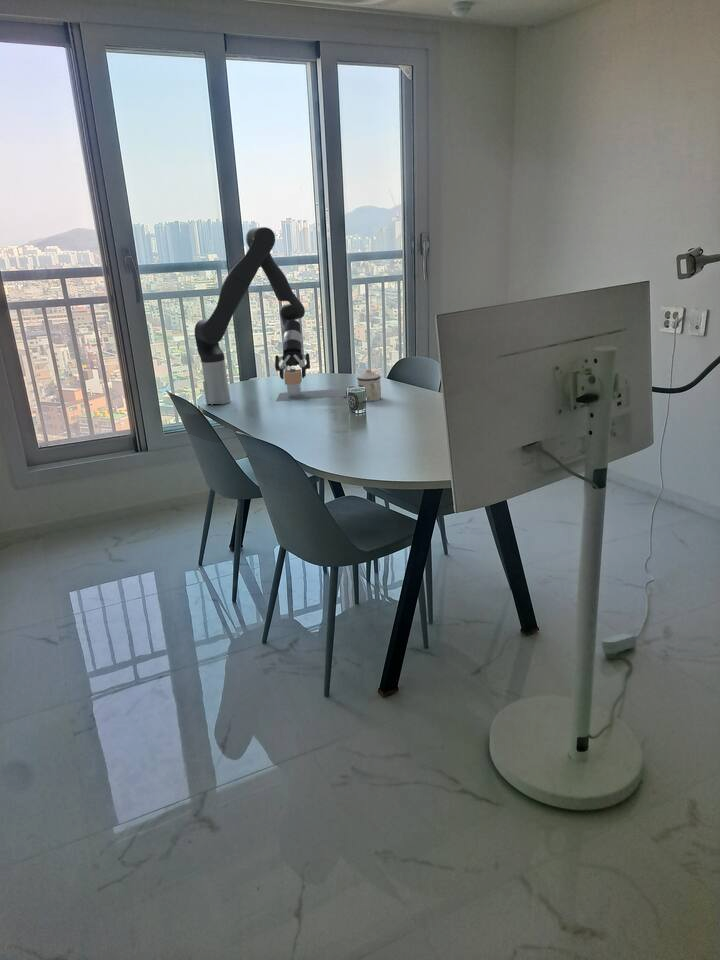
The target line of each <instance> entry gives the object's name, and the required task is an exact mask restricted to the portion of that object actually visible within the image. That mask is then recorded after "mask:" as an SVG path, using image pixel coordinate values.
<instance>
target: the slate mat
mask: <svg viewBox="0 0 720 960" xmlns="http://www.w3.org/2000/svg"><path fill="white" fill-rule="evenodd" d="M301 392H302V394H301V397H291V398H288V391H287V392H279V394H278V396H277V398H276V402H285V401H297V400H298V401H299V400H312V399H313V400H315V399H329V398H330V399H331V398H343V399H345V398H347V394H346V388H335V389H334V388H333V389H317V390H304V391H302V390H301Z"/></svg>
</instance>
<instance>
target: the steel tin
mask: <svg viewBox="0 0 720 960" xmlns="http://www.w3.org/2000/svg"><path fill="white" fill-rule="evenodd" d="M301 385H302V383H301V384H288V385H286V389H287V392H288V398H291V397H301V394H302V392H301V391H302V386H301Z"/></svg>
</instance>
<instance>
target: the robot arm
mask: <svg viewBox="0 0 720 960" xmlns="http://www.w3.org/2000/svg"><path fill="white" fill-rule="evenodd" d="M245 241H246V245H247V247H248V250H247V251H246V253H245V254H244V256H243V257H242V258H241V259H240V260H239V261H238V262H237V263H235V265H234V266H233V267H232V268H231V269H230V270H229V272H228V274H227V276H225V279H224V281H223V283H222V285H221V287H220V291H219V295H218V300H217V304H216V306H215V309H214V310H213V312H212V313H211V315H210V317H209V318H203V319H200V320H198V321H197V322H196V323H195V326H194V338H195V343H196V349H197V353H198V355H199V357H200V362H201V369H202V374H203V380H202V384H203V390H204V391H203V392H204V398H205V403H206V404H211V405H210V406H214V405H213V404H221V405H225V404H229V403H231V394H230V387H229V379H228V372H227V366H226V365H227V364H226V360H225V358H226V357H225V353H224V352H223V350H222V348H221V347H220V343H219V342H220V341H222V339H223V338H224V336H225V334H226V331H227V329H228V326H229V324H230V321H231V320H232V318H233V315H234V313H235V312H236V310H237V308H238V307H239V305H240V303H241V301H242V300H243V298H244V297H245V295H246V293H247V291H248V289H249V287H250V285H251V284H252V281H253V280H254V279H255V277H256V275H257V273H258V271H259V269H260V267H261V268H262V271H263V272H264V275H265V276H266V278H267V280H268V282H269V284H270V287H271V289H272V290H273V293H274V295H275V297H276V299H277V301H279V302H288V303H287V304H284V305H282V306H281V307H280V309H279V316H280V318H281V321H282V325H283V337H282V338H283V341H282V343H283V344H282V345H283V346H282V348H283V349H282V350H283V351H282V355H281V356H279V355H278V354H277V355H275V356H274V357H275V360H274V368H275V371H276V372H278V371H279V378H280V379H281V380H285V378H284V373H285V371H286V370H287V368H288V367H292V366H294V367H297V366H298V367H299V368H301V376H302V379H304V378H305V377H306V376H307V375H306V374H307V372H306V371H307V370H310V369H311V361H310V353H308V352H307V353H306V354H303V352H302V351H303V348H302V347H303V346H302V345H303V341H302V335H301V334H302V329H301V323H300V322H299V321H297V320H299V319H302V318H303V317H304V316H305V314H306V310H305V306H304V305H303V303H302V302H301V301H300V300H299V298H298V297H297V295H296V294H295V292H294V291H293V290H292V288H291V285H290V283H289V280H288V279H287V277H286V275H285V274H284V272H283V271H282V269H281V268H280V267H279V266H278V264H277V263H276V262H275V260H274V258H273V257H272V254H271V251H272V250H273V248H274V246H275V243H276V236H275V233H274V231H273V230H272V229H271V228H270V227H266V226H260V227H254V228H251V229H249V230H248V232H247V233H246V237H245ZM303 360H304V361H305V362H306V364H304V363H303ZM281 362H282V363H281ZM280 363H281V365H280Z"/></svg>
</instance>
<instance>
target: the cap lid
mask: <svg viewBox="0 0 720 960" xmlns="http://www.w3.org/2000/svg"><path fill="white" fill-rule="evenodd" d="M302 380H303V378H302V368H301V369H295V368H291V369H285V370H284V385H286V386H287V385H288V384H301V385H302Z"/></svg>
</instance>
